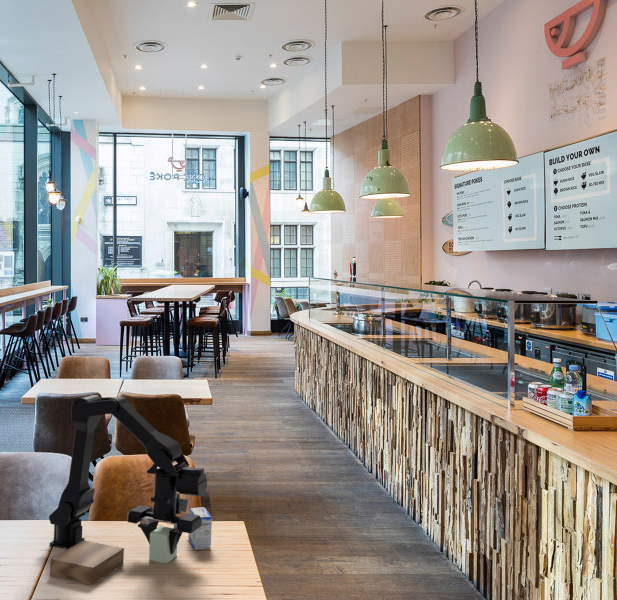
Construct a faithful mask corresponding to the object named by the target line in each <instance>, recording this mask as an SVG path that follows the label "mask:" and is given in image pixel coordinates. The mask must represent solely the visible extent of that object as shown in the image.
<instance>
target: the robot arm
mask: <svg viewBox="0 0 617 600" xmlns="http://www.w3.org/2000/svg"><path fill="white" fill-rule="evenodd" d="M70 406H71V410H70V411H71V412H70V415H71V419H70V420H71V423H72V424H73V426H74V438H73V446H72V453H71V461H70V467H69V476H68V482H67V484H66V485H65V488H64V489H63V491H62V492H61V496H60V498H59V502H58V505H57V508H56V509H55V510H54V511H53V512H52V513H51V514H50V515H48V519H49V522H50V525H53V528H54V529H53V540H52V541H50V542H49V546H53V547H59V548H63V549H66V550H67V549H69V548H71V547H73V546H74V545H76V544H78V543H80V542H82V541H86V540H85V539H86V538H85V537H83V525H82V519H81V518H82V517H84V516H85V515H86V513H87V511H88V510H89V509H90V508H91V507H92V504H94V503H95V500H94V495H95V493H96V489H95V488H92V487H90V484H89V477H90V476H89V475H90V467H91V460H92V454H93V453H92V451H93V447H94V446H93V445H94V438H95V431H96V428H97V426H98V425H99V423H100V422H101V419H102V417H103V415H104V416H105V415H112V416H113V417H114V418H115V419H116V420H118V421H119V422H120V423H121V424H122V426H123V427H125V428H126V430H128V431H129V433H131V434H132V435H133V436H134V437H135V439H136V440H138V441H139V442H140V444H142V445H143V447H144V448H145V449H144V450H145V452H146V455H147V456H148V457H149V459H150V461H151V462H152V463H153V464H152V465H151V467H150V468H148V469H147V470H146V474H149V475H151V474H153V475H154V483H153V486H154V487H153V488H154V489H153V496H151V497H150V502H153V507H151V506H148V505H147V506H146V505H141V504H140V505H139V504H138V506H136V507H134V508H132V509H130V510H129V512H128V513H127V518H126V521H127V523H130V524H135V525H137V528H140V529H141V531H142V533H143V534H144V536H145V538H146V540H147V542H148V545H150V532H152V531H154V530H155V529H157V528H158V527H159V526H158V525H159V523H166V524H170V525H171V524H172V525H173V527H172V528H173V529H172V530H170V531H169V541H170V553H171V554H173V553H174V552H175V549H176V547H177V548H178V544H179V542H180V539H181V537H182V535H183V533H184V534H189V533H192V532H194V531H195V530H197V529H198V528H199V527H201V526H202V519H201V517H200V515H195V514H190V512H189V513H186V512H187V508H188V503H189V499H187V498H181V495H187V496H193V497H203V496H204V495H205V492H207V491H206V490H207V486H208V479H207V474H206V473H205V468H202V467H191V466H190V462H189V460H187V458H186V456H185V455H184V453H183V451H182V446H181V444H180V443H179V441H176V440H175V439H174V438H172V437H170V436H169V435H167V434H164V433H162V432H159V431H158V430H157V429H156V428H155V427H153V426H152V424H151V423H149V422H148V420H146V419H145V418H144V417H143V416H142V415H141V414H140V413H139V412H138V411H137V410H136V409H135V408H134V407H133V406H132V405H131V404H130V403H128V400H127V399H126V398H125V397H123V396H117V397H111V396H109V397H101V396H99V395H96V394H92V395H88V396H87V395H86V396H83V397H80V398H77V399H75V400H74V401H73V402H72V404H71V405H70ZM174 463H176V464H174ZM189 466H190V467H189ZM182 512H184V513H186V514H184V515H183V516H177V515H180V514H181V513H182Z"/></svg>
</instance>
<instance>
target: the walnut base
mask: <svg viewBox="0 0 617 600" xmlns="http://www.w3.org/2000/svg"><path fill="white" fill-rule="evenodd" d="M124 555H125V548H124V547H119V546H115V545H109V544H103V543H98V542H95V541H87V540H84V541H82V542H80V543H78V544H76V545H74V546H73V547H71V548H69V549H67V548H66V550H64V551H62V552H60V553H59V554H57V555H55V556H53V557H51V558H50V563H49V564H50V566H49V567H50V568H49V576H50V577H54V578H60V579H64V580H68V581H73V582H78V583H83V584H87V585H91V586H92V585H95V584H96V583H98V582H99V581H101V580H102V579H103V577H104V578H106V575H107V576H109V573H110V574H111V573H113V572H114V571H115V569H116V568H117V569H118V567H119V566H120V567H122V566H123V565H124ZM122 564H123V565H122ZM121 565H122V566H121ZM120 567H119V568H120ZM117 569H116V570H117ZM112 571H113V572H112ZM101 578H102V579H101ZM100 579H101V580H100ZM98 580H99V581H98ZM97 581H98V582H97ZM94 583H95V584H94Z"/></svg>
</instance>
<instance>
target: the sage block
mask: <svg viewBox="0 0 617 600" xmlns="http://www.w3.org/2000/svg"><path fill="white" fill-rule="evenodd" d="M173 528H174V527H169V526H164V525H163V526H162V525H160V526H157V529H155V530H154V531H152V532H150V544H149V550H148V551H149V552H148V553H149V554H148V560H149V561H151V562H156V563H161V564H168V563H169V562H171V560H173V559H175V558H176V557H177V556H178V555H177V554H178V546H177V547H176V549H175V552H174V553H173V554H171V553H170V541H169V531H170V530H172V529H173ZM174 557H175V558H174Z"/></svg>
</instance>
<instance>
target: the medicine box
mask: <svg viewBox="0 0 617 600" xmlns="http://www.w3.org/2000/svg"><path fill="white" fill-rule="evenodd" d="M189 514H195V515H200V517H201V519H202V526H201V527H199V528H198V529H197V530H195V531H194V532H192V533H188V540H189V542H190V544H191V545H192V547H193V548H194V550H195V551H196V550H207V549H211V545H212V526H213V525H212V524H213V521H212V520H213V517H212V516H211V514H210V512H209V511H208V509H206V507H191V508H190V509H189Z"/></svg>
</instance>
